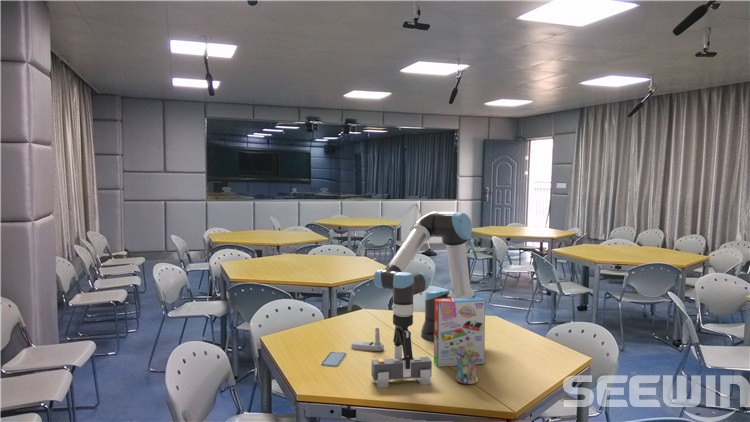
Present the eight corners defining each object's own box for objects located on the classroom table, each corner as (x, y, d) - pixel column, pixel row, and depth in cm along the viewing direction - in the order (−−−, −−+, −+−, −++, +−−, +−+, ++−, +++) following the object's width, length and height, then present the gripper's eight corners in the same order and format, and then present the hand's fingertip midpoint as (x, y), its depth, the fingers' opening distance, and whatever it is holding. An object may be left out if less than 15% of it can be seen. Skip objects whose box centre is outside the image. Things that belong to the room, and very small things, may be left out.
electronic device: (353, 325, 220) (384, 327, 215) (353, 345, 220) (385, 348, 216) (349, 328, 215) (381, 330, 210) (349, 349, 215) (381, 352, 211)
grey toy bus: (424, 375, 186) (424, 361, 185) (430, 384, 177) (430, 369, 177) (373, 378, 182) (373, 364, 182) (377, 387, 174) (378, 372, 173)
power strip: (427, 371, 184) (427, 355, 184) (431, 376, 179) (431, 359, 179) (371, 375, 180) (371, 358, 179) (373, 380, 175) (374, 362, 174)
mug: (452, 376, 185) (453, 349, 185) (476, 376, 185) (477, 349, 184) (456, 389, 173) (457, 360, 173) (482, 389, 173) (482, 361, 172)
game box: (479, 360, 203) (481, 296, 202) (485, 364, 198) (486, 300, 196) (432, 362, 199) (434, 298, 198) (436, 367, 194) (438, 301, 193)
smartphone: (320, 364, 194) (330, 351, 209) (320, 367, 194) (330, 353, 209) (337, 366, 193) (346, 352, 207) (337, 368, 193) (346, 354, 207)
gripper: (386, 305, 190) (385, 357, 191) (401, 324, 165) (400, 383, 167) (404, 305, 191) (403, 356, 192) (422, 323, 167) (421, 382, 168)
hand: (402, 369), depth 180 cm, fingers open, 13 cm apart
